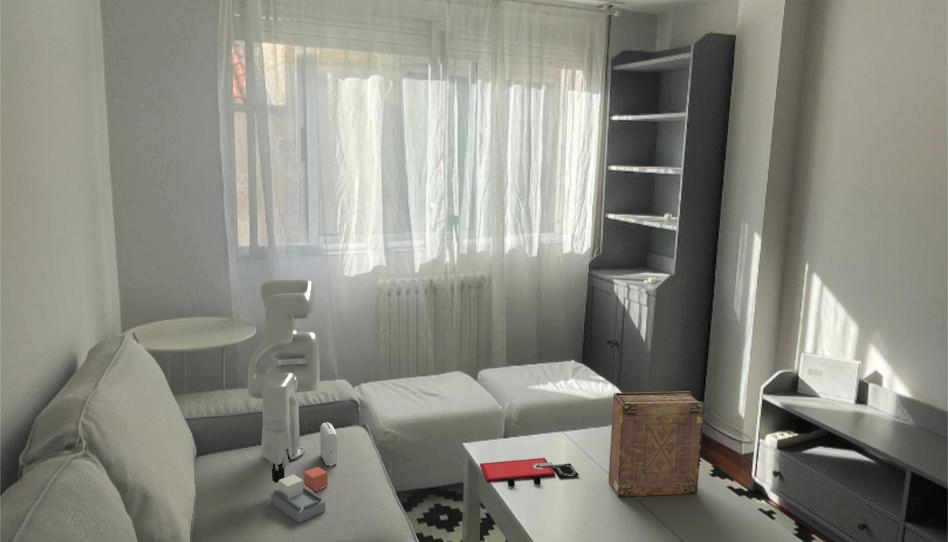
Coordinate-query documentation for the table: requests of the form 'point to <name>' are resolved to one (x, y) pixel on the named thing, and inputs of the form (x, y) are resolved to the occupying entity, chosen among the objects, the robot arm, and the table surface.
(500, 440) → the table surface
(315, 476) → the red cube
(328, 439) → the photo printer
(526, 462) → the red board with handle
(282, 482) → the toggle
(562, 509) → the table surface
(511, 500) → the table surface
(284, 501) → the grey tray
